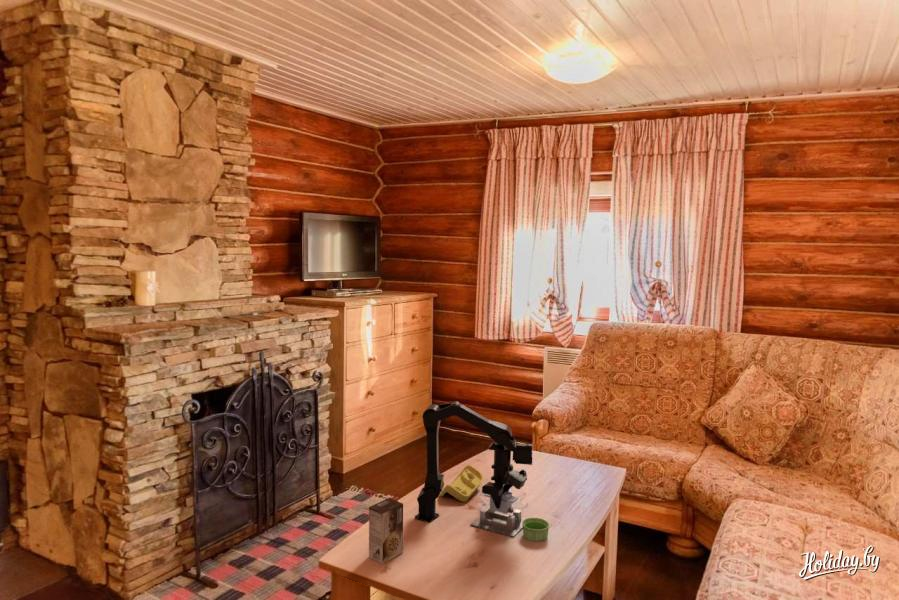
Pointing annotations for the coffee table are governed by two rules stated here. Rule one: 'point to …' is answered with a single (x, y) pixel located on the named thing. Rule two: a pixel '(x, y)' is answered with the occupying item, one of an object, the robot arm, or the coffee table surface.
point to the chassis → (499, 521)
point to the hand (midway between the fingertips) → (500, 506)
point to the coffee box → (385, 530)
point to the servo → (503, 503)
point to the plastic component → (464, 484)
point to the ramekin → (535, 529)
